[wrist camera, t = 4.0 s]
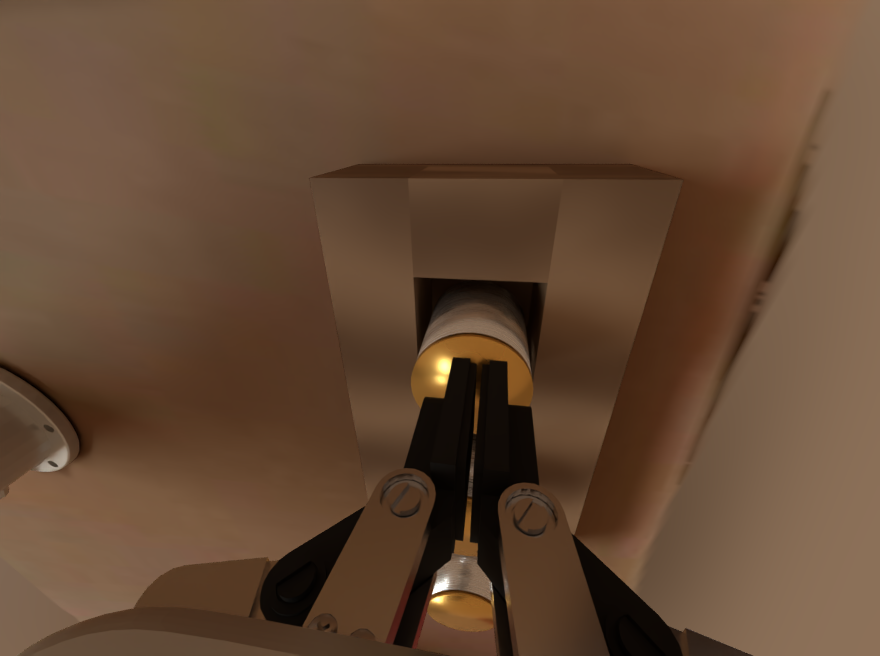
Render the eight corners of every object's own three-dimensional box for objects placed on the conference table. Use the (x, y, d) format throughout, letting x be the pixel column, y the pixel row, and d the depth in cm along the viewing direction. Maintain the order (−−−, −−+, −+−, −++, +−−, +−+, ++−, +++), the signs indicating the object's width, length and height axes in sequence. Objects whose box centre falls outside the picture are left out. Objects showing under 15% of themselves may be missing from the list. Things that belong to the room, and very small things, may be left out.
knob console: (542, 539, 29) (550, 612, 25) (399, 520, 30) (383, 585, 26) (630, 164, 15) (683, 179, 11) (358, 164, 16) (309, 178, 12)
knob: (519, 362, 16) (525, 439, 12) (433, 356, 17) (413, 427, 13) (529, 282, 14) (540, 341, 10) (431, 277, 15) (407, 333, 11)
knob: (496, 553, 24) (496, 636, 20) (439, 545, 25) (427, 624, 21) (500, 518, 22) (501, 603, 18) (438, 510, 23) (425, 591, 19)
